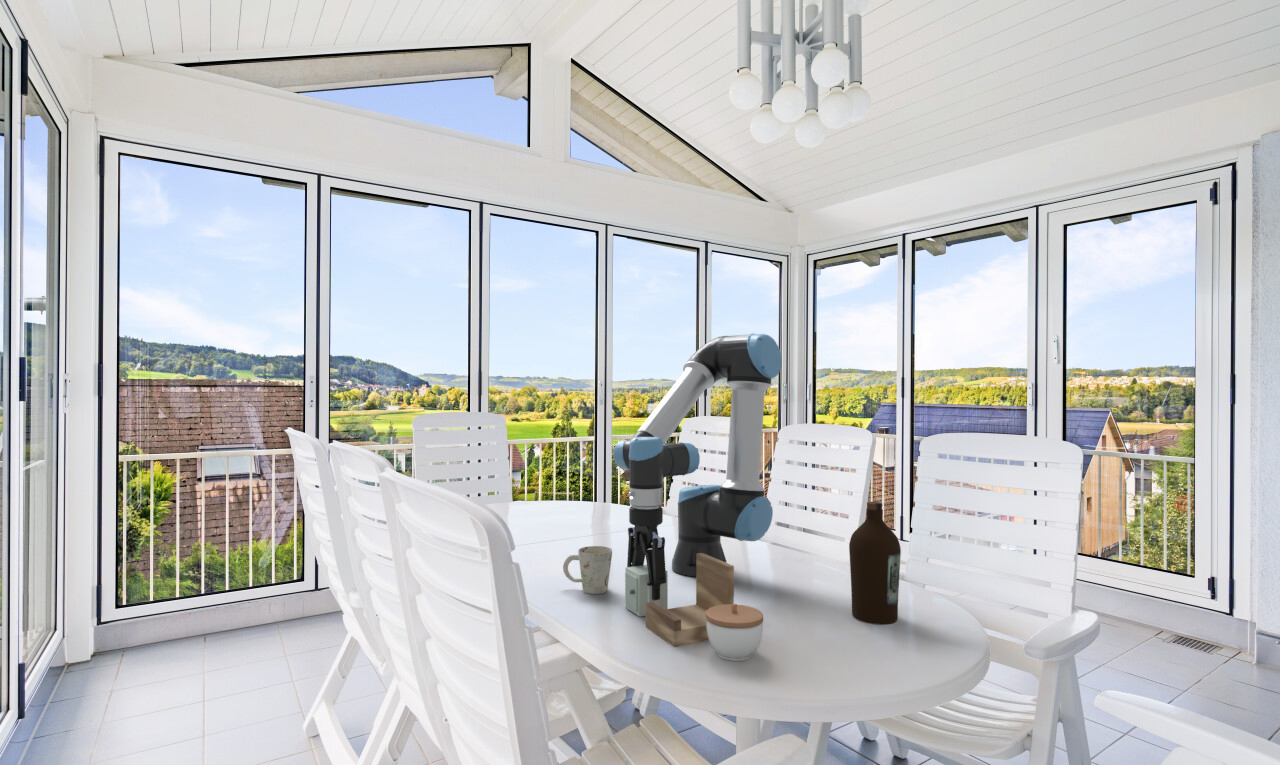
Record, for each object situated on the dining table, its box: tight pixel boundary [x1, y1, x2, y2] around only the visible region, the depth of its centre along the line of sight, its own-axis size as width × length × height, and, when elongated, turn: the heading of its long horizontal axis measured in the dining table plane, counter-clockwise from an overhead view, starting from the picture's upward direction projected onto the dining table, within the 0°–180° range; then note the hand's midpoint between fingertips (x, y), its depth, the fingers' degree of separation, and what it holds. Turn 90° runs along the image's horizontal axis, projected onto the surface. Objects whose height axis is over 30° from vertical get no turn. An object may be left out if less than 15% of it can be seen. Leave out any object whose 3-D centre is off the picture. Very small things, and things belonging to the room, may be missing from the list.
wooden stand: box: [645, 553, 735, 648], centre depth 137 cm, size 14×12×14 cm
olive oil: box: [848, 501, 902, 625], centre depth 146 cm, size 11×11×25 cm
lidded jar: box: [706, 603, 764, 662], centre depth 125 cm, size 11×11×9 cm
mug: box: [562, 545, 613, 595], centre depth 165 cm, size 8×13×10 cm, turn 78°
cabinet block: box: [624, 564, 669, 618], centre depth 150 cm, size 8×7×9 cm
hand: (645, 608), depth 150 cm, fingers closed on cabinet block, 7 cm apart
